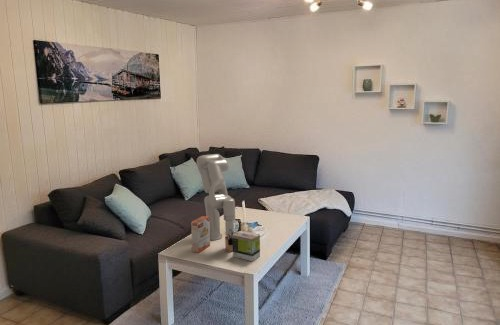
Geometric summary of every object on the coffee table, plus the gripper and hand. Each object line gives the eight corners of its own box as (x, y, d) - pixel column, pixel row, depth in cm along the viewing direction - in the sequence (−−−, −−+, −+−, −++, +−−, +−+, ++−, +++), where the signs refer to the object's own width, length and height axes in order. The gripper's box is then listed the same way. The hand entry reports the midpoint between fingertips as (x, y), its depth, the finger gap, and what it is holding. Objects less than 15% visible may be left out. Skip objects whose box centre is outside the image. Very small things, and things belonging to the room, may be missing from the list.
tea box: (260, 256, 247) (260, 234, 244) (252, 262, 238) (251, 239, 236) (240, 251, 255) (240, 229, 252) (232, 256, 246) (231, 234, 244)
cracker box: (199, 253, 251) (198, 223, 247) (191, 252, 254) (190, 221, 250) (210, 245, 264) (209, 216, 260) (203, 244, 266) (202, 215, 262)
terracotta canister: (225, 252, 253) (225, 239, 252) (225, 248, 259) (224, 235, 258) (234, 251, 254) (234, 238, 252) (234, 247, 260) (234, 235, 258)
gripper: (223, 213, 260) (224, 237, 263) (224, 221, 243) (224, 247, 246) (234, 213, 261) (235, 237, 264) (235, 220, 244) (236, 246, 247)
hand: (230, 242), depth 255 cm, fingers open, 9 cm apart
